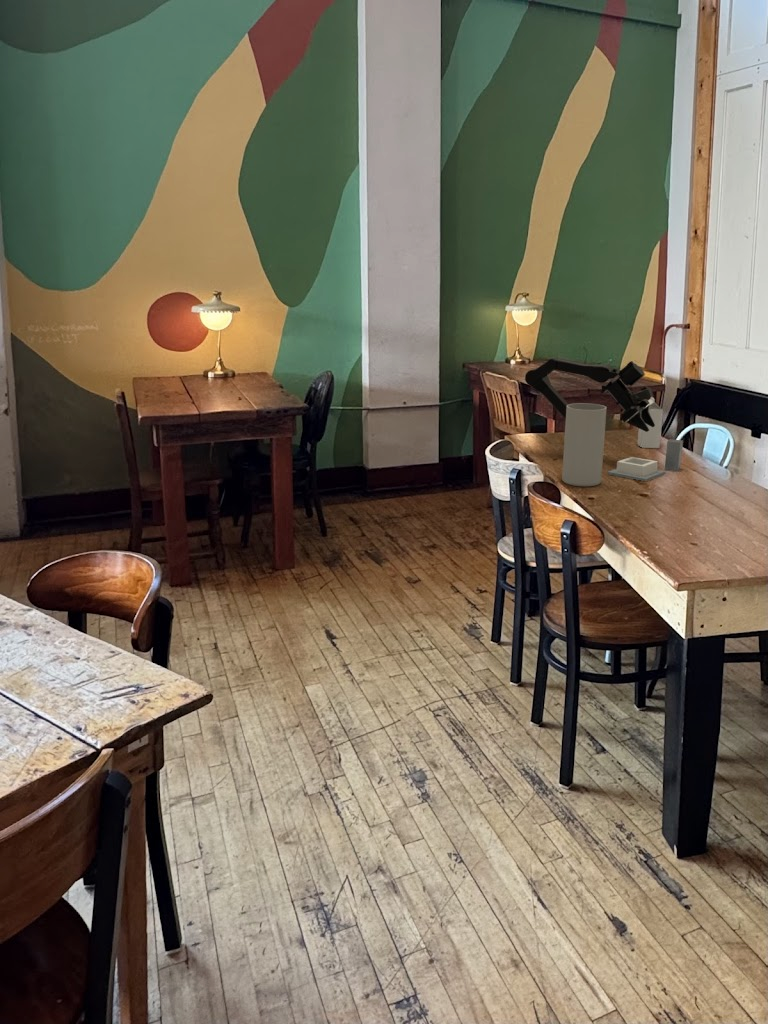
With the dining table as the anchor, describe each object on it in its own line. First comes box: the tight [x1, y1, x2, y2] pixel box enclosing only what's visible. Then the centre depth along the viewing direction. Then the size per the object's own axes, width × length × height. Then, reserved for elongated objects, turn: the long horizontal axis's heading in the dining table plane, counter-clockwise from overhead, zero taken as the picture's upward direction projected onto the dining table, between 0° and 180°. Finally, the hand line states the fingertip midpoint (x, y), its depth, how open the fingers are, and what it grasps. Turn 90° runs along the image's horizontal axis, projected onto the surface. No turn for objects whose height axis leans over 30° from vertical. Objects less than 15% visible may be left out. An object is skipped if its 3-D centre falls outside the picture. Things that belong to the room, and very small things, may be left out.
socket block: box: [607, 456, 667, 482], centre depth 299 cm, size 14×14×4 cm
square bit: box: [664, 438, 684, 472], centre depth 305 cm, size 4×4×10 cm
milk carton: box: [636, 396, 664, 449], centre depth 338 cm, size 7×7×19 cm
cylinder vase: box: [561, 402, 608, 488], centre depth 286 cm, size 12×12×25 cm
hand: (651, 428), depth 307 cm, fingers open, 9 cm apart
